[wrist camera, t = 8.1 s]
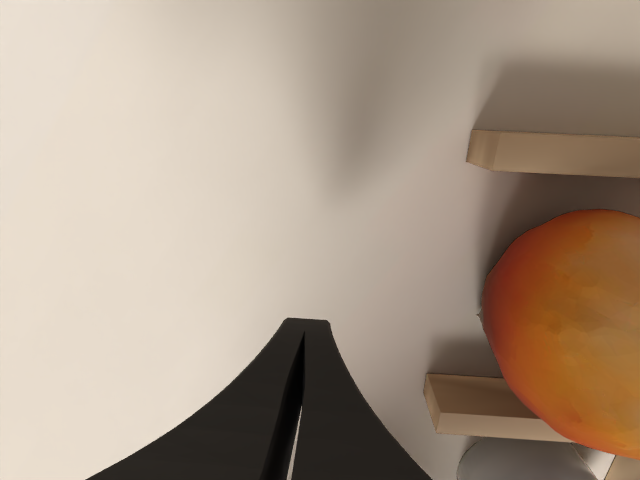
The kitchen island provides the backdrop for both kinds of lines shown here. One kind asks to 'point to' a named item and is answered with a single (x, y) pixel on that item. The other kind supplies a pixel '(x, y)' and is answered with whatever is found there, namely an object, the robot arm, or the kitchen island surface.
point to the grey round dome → (522, 461)
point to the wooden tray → (494, 393)
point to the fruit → (572, 326)
